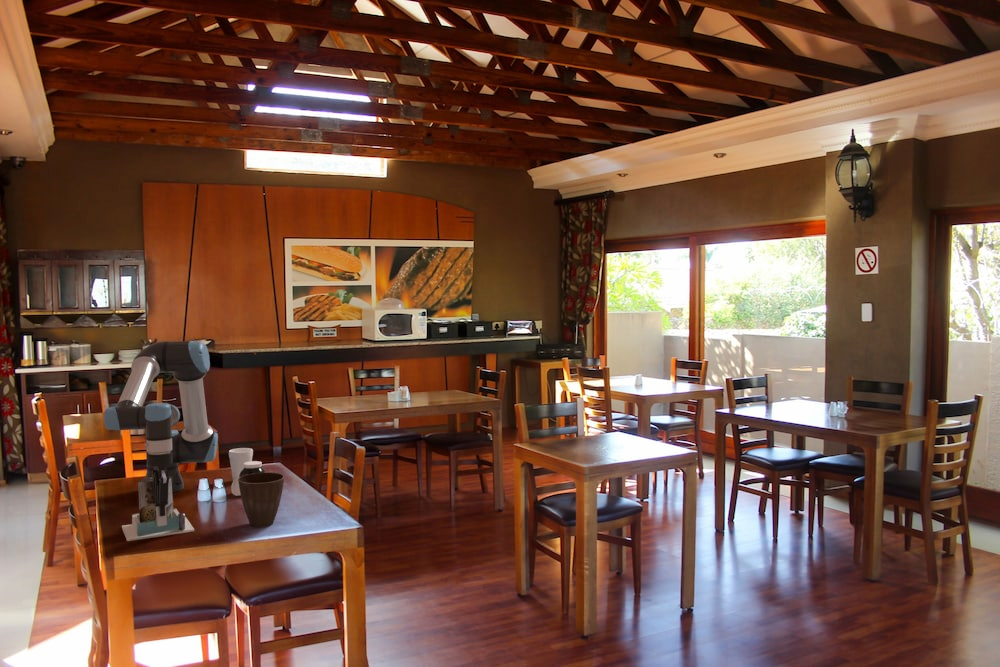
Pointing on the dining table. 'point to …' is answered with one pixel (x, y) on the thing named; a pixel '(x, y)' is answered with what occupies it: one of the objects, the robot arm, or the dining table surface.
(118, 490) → the dining table surface
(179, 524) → the ball knob lever
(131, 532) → the white shallow tray
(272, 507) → the plant pot
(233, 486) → the spread jar
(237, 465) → the foam cup
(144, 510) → the coffee box
